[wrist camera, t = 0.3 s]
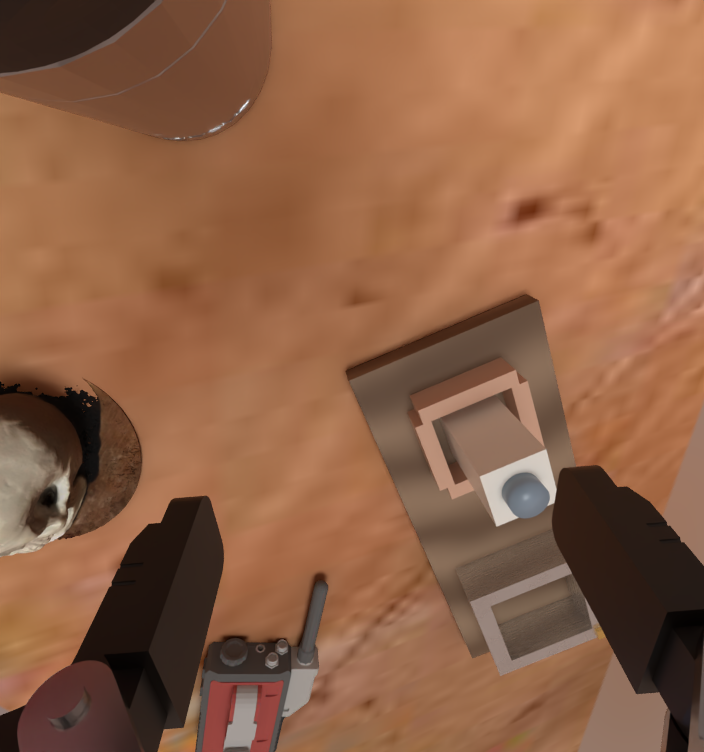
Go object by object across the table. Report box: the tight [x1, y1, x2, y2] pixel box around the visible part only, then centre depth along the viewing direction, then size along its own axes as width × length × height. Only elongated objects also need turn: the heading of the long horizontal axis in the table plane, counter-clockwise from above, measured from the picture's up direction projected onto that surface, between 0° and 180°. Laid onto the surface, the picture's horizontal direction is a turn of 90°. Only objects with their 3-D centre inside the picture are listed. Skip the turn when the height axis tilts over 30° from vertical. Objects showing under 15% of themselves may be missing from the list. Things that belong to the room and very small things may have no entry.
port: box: [455, 529, 606, 676], centre depth 35 cm, size 9×9×3 cm
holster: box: [407, 357, 544, 499], centre depth 29 cm, size 7×7×2 cm
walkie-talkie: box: [195, 580, 328, 752], centre depth 37 cm, size 9×4×20 cm
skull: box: [0, 379, 141, 557], centre depth 27 cm, size 12×10×10 cm
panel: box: [346, 294, 576, 658], centre depth 34 cm, size 28×12×2 cm, turn 22°
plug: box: [439, 395, 557, 526], centre depth 26 cm, size 4×4×8 cm
